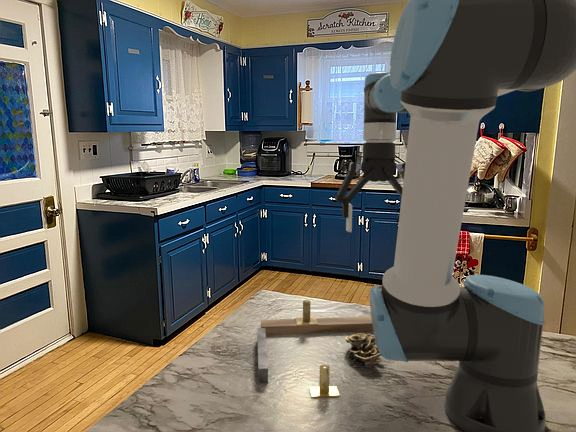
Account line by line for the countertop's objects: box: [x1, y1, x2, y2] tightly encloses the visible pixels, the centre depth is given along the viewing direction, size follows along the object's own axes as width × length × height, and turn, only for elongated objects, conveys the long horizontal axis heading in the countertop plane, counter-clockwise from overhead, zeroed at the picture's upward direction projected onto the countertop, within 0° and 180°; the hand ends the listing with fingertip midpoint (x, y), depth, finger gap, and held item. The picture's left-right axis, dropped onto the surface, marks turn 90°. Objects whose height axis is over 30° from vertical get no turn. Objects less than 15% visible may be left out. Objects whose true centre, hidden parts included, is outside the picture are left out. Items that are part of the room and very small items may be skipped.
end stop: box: [256, 327, 269, 384], centre depth 93 cm, size 18×2×3 cm, turn 5°
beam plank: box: [260, 299, 374, 336], centre depth 107 cm, size 4×30×7 cm, turn 94°
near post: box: [309, 364, 340, 399], centre depth 81 cm, size 3×5×5 cm, turn 94°
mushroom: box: [344, 332, 383, 368], centre depth 95 cm, size 12×8×4 cm, turn 171°
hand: (376, 230), depth 108 cm, fingers open, 13 cm apart
